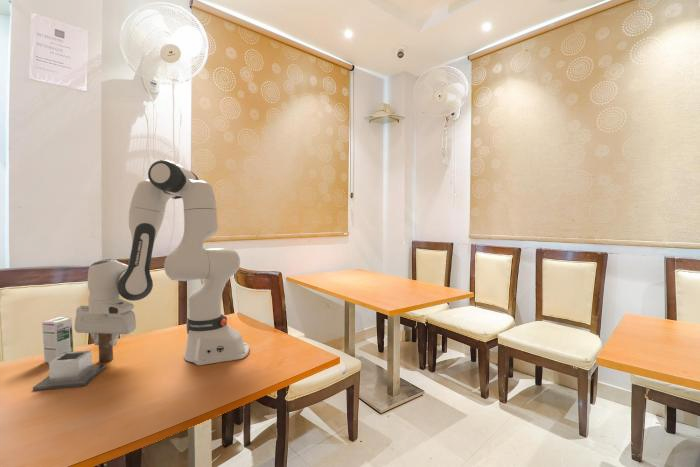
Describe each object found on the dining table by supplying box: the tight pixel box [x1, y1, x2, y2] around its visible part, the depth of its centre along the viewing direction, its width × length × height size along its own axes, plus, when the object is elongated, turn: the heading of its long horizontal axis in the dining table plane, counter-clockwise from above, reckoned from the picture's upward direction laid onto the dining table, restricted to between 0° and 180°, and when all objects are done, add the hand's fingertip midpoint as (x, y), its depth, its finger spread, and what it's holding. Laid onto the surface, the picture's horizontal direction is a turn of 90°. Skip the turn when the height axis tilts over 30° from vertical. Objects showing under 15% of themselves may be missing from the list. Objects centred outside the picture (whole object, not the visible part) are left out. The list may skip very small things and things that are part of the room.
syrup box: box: [41, 316, 74, 364], centre depth 119 cm, size 6×6×14 cm
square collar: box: [32, 350, 106, 392], centre depth 106 cm, size 13×13×7 cm
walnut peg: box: [98, 333, 114, 363], centre depth 119 cm, size 4×4×10 cm
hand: (105, 345), depth 119 cm, fingers closed on walnut peg, 4 cm apart
